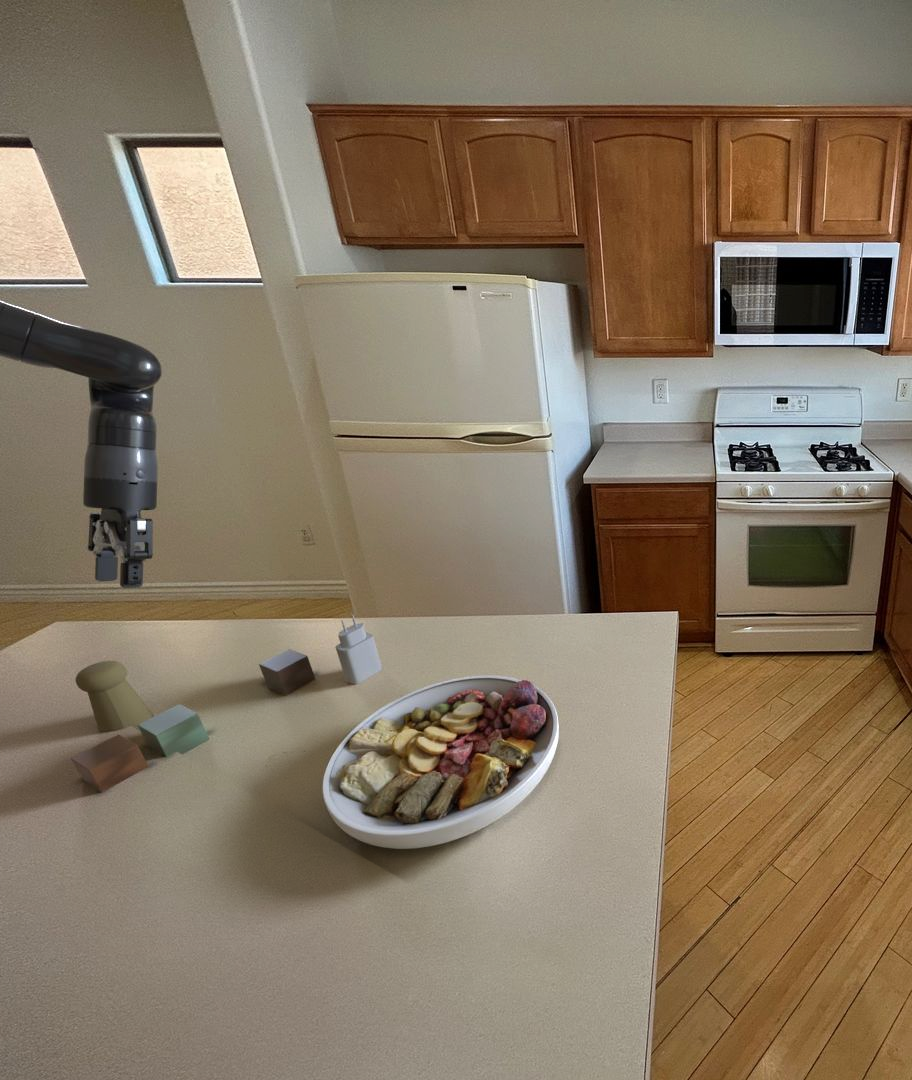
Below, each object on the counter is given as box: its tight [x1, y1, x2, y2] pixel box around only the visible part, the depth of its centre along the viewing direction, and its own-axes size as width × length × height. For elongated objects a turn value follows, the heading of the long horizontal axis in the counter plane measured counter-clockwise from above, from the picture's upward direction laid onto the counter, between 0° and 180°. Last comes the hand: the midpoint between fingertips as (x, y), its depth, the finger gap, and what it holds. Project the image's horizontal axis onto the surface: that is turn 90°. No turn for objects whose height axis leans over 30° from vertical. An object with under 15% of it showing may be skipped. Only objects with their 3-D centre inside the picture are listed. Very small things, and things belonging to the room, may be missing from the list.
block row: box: [70, 648, 316, 793], centre depth 86 cm, size 28×5×5 cm, turn 156°
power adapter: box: [334, 614, 383, 685], centre depth 97 cm, size 3×5×12 cm, turn 156°
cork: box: [75, 660, 154, 733], centre depth 85 cm, size 6×6×11 cm
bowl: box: [321, 675, 560, 850], centre depth 79 cm, size 30×30×8 cm
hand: (118, 584), depth 84 cm, fingers open, 8 cm apart
